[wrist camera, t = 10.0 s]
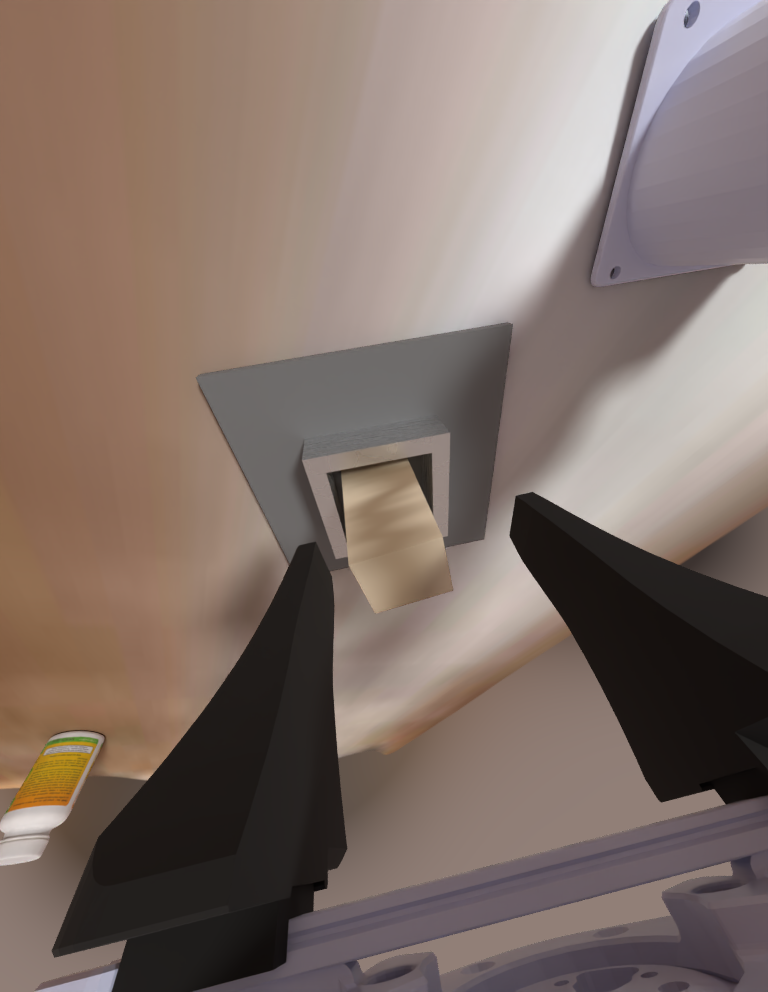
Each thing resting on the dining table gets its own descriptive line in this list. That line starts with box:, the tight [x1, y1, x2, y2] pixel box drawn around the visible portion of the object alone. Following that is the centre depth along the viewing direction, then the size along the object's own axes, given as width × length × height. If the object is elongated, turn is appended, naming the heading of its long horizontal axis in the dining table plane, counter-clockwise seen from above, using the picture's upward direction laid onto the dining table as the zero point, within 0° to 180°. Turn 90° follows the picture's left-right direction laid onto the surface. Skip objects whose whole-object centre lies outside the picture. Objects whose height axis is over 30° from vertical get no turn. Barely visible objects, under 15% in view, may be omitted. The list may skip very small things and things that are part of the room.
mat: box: [196, 323, 513, 571], centre depth 20 cm, size 16×16×1 cm
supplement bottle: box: [0, 731, 104, 866], centre depth 32 cm, size 5×5×10 cm
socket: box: [302, 415, 450, 559], centre depth 18 cm, size 8×8×2 cm
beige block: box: [341, 458, 453, 614], centre depth 16 cm, size 4×4×8 cm
